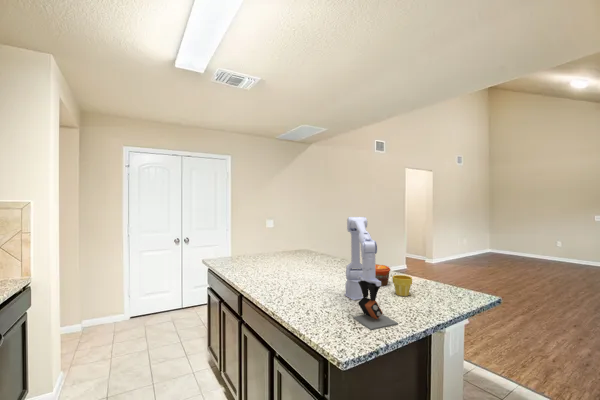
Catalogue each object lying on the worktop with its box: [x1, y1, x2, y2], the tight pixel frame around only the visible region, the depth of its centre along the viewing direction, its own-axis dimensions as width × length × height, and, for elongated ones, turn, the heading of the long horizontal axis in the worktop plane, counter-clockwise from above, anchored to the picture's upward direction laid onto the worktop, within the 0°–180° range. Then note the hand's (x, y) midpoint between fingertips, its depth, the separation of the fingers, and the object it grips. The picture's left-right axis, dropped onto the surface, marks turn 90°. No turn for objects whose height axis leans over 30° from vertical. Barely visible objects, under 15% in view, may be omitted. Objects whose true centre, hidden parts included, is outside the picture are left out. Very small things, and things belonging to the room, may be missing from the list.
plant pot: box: [392, 274, 413, 297], centre depth 160 cm, size 10×10×10 cm
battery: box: [357, 297, 384, 319], centre depth 126 cm, size 4×7×10 cm
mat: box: [352, 314, 399, 331], centre depth 124 cm, size 13×14×1 cm
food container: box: [370, 263, 392, 287], centre depth 181 cm, size 16×16×11 cm
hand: (369, 298), depth 127 cm, fingers open, 5 cm apart
